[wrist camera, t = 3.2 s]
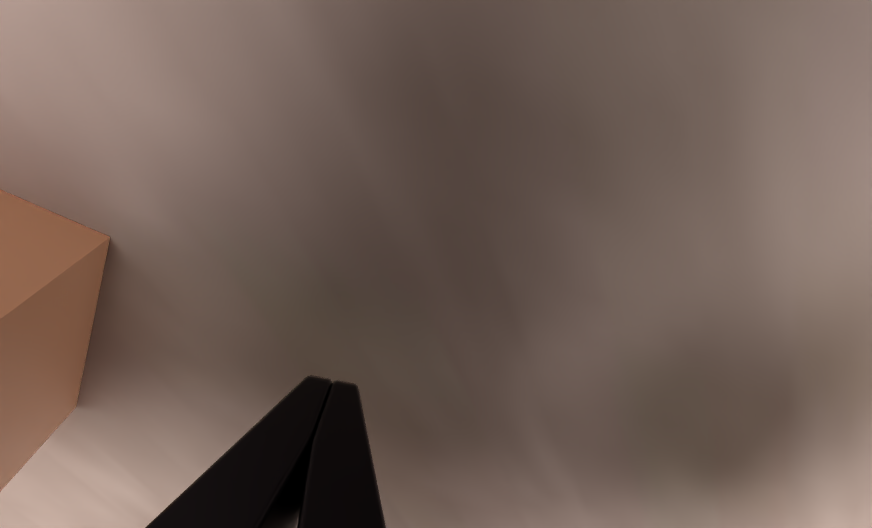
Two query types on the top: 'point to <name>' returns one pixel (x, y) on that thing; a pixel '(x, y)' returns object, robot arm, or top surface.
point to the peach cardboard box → (42, 322)
